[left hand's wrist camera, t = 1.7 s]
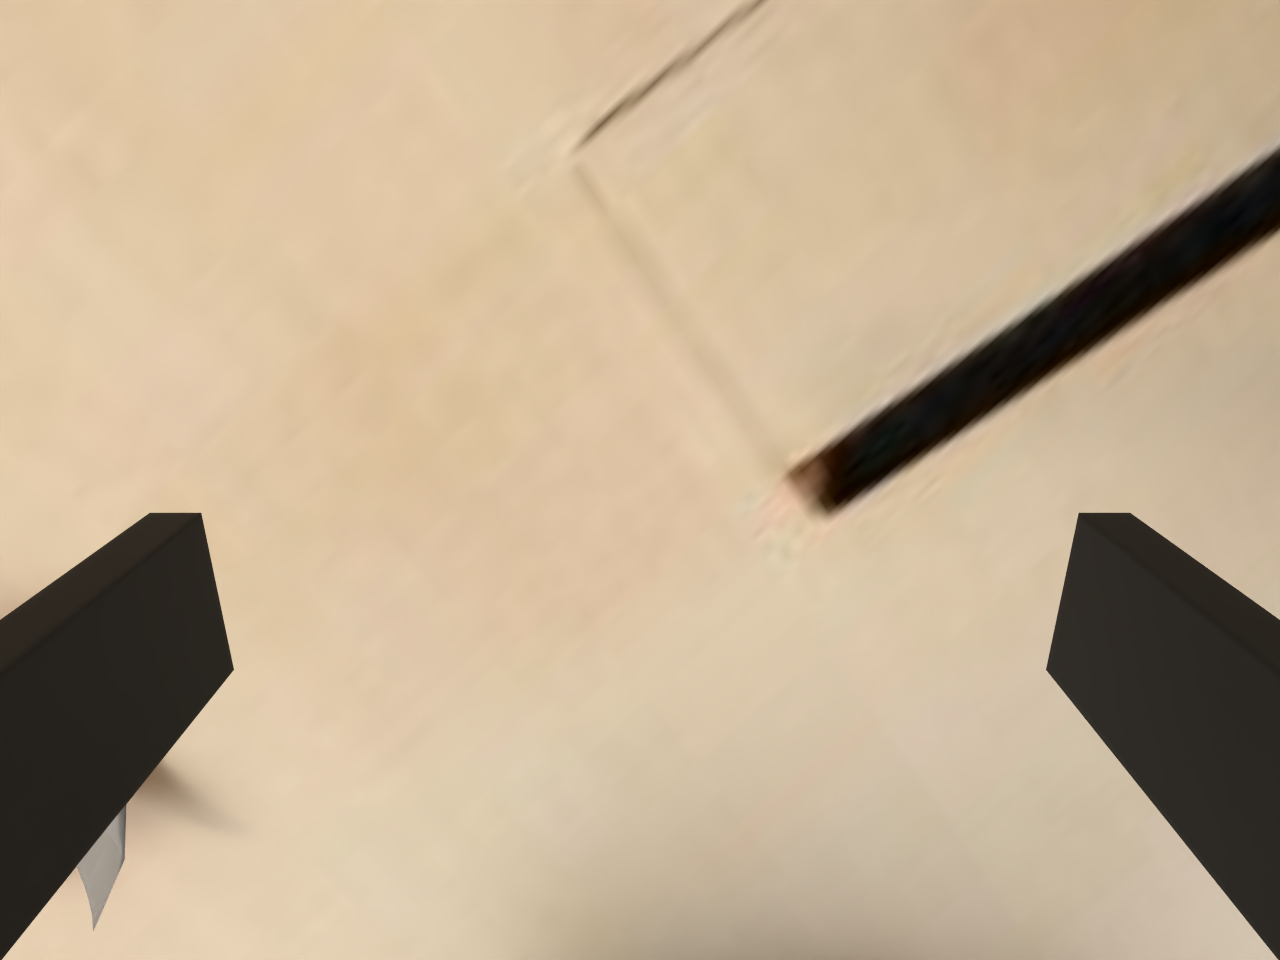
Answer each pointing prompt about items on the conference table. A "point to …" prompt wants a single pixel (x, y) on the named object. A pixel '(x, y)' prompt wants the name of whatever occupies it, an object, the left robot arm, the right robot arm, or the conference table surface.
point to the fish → (103, 864)
